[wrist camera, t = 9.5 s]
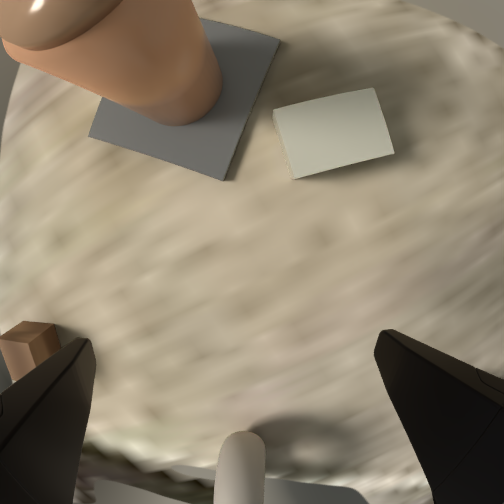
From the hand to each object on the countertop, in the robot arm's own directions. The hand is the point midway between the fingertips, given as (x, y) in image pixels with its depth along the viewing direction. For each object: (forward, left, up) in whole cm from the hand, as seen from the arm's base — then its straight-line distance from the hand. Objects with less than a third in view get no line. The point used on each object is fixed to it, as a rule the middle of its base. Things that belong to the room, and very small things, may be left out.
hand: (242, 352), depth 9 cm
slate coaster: (+9, -9, -12) cm, 17 cm away
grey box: (-1, -9, -12) cm, 15 cm away
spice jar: (+8, -9, -11) cm, 17 cm away
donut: (-5, +16, -12) cm, 21 cm away
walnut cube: (+15, +14, -12) cm, 24 cm away
